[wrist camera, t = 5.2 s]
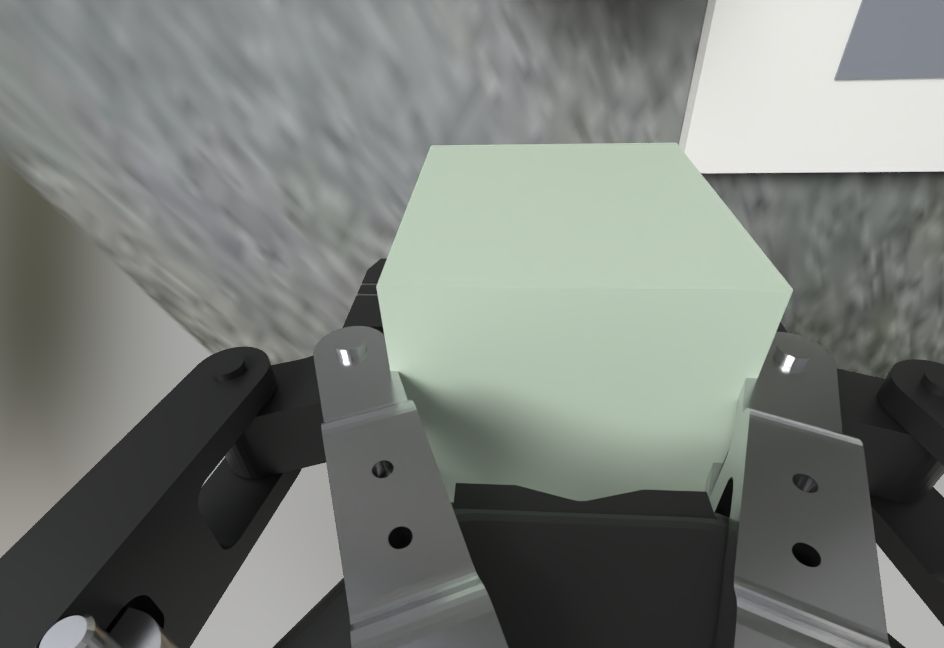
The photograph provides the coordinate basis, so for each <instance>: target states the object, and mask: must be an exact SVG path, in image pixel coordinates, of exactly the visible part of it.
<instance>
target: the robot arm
mask: <svg viewBox="0 0 944 648" xmlns="http://www.w3.org/2000/svg"><path fill="white" fill-rule="evenodd" d="M386 260H387V259H380V260H379V261H378V262H377V263H375V264H374V265H373V266H372V267H371V268H369V269H368V270H367V273H366V275H365V277H364V280H363V282H362V285H361V287H360V289H359V291H358V296H356V298H355V300H354V303H353V305H352V307H351V310H350V312H349V314H348V317H347V319H346V321H345V324H344V326H343V328H341V329H338V330H336V331H333V332H331V333H329V334H328V335H326V336H325V337H323V338H322V339H321V340H320V341H319V342H318V343H317V345H316V347H315V349H314V352H313V353H314V356H311V357H308V358H304V359H300V360H296V361H291V362H286V363H281V364H276V365H271V364H270V361H269V358H268V356H267V355H266V353H265V352H263V351H262V350H259V349H257V348H253V347H236V348H230V349H226V350H223V351H220V352H218V353H215V354H213V355H211V356H209V357H208V358H206V359H205V360H203V361H202V362H201V363H199V364H198V365H197V366H196V367H195V368H194V369H193V370H192V371H191V372H190V373H189V374H188V375H187V376H186V377H185V378H184V379H183V380H182V381H181V382H180V383H179V384H178V385H177V386H176V387H175V388H174V389H173V390H172V391H171V392H170V393H169V394H168V395H167V396H166V397H165V398H164V399H162V400H161V402H160V403H158V404H157V405H156V406H155V407H154V408H153V409H152V410H151V411H150V412H149V413H148V414H147V415H146V416H145V417H144V418H143V419H142V420H141V421H140V422H139V423H138V424H137V425H136V426H135V427H134V428H133V429H132V430H131V431H130V432H129V433H128V434H127V435H126V436H125V437H124V438H123V439H122V440H121V441H120V442H119V443H118V444H117V445H116V446H115V447H113V448H112V449H111V450H110V452H108V453H107V454H106V455H105V456H104V457H103V458H102V459H101V460H100V461H99V462H98V463H97V464H96V465H95V466H94V467H93V468H92V469H91V470H90V471H89V472H88V473H87V474H86V475H85V476H84V477H83V478H82V479H81V480H80V481H79V482H78V483H77V484H76V485H75V486H74V487H73V488H72V489H71V490H70V491H69V492H68V493H67V494H66V495H65V496H63V498H61V499H60V500H59V501H58V502H57V504H55V505H54V506H53V507H52V508H51V509H50V510H49V511H48V512H47V513H46V514H45V515H44V516H43V517H42V518H41V519H40V520H39V521H38V522H37V523H36V524H35V525H34V526H33V527H32V528H31V529H30V530H29V531H28V532H27V533H26V534H25V535H24V536H23V537H22V538H21V539H20V540H19V541H18V542H17V543H16V544H15V545H13V547H11V549H10V550H9V551H7V552H6V553H5V555H3V556H2V557H1V558H0V648H190V646H191V645H192V643H193V641H194V640H195V638H196V637H197V635H198V634H199V632H200V630H201V629H202V627H203V626H204V624H205V622H206V621H207V619H208V618H209V616H210V615H211V613H212V611H213V610H214V608H215V607H216V605H217V603H218V602H219V600H220V598H221V597H222V595H223V594H224V592H225V591H226V589H227V587H228V586H229V584H230V583H231V581H232V580H233V578H234V576H235V575H236V573H237V572H238V570H239V568H240V567H241V565H242V564H243V562H244V560H245V559H246V557H247V556H248V554H249V553H250V551H251V549H252V548H253V546H254V545H255V543H256V541H257V540H258V538H259V536H260V535H261V533H262V532H263V530H264V529H265V527H266V526H267V524H268V522H269V521H270V519H271V518H272V516H273V514H274V513H275V511H276V510H277V508H278V506H279V505H280V503H281V501H282V500H283V498H284V497H285V495H286V494H287V492H288V491H289V489H290V487H291V486H292V484H293V483H294V481H295V479H296V478H297V476H298V475H299V473H300V471H301V469H302V468H304V467H309V466H312V465H317V464H320V463H325V462H326V463H327V469H328V475H329V483H330V489H331V495H332V503H333V509H334V516H335V522H336V529H337V536H338V542H339V549H340V555H341V561H342V569H343V575H344V578H343V579H342V580H341V581H340V582H339V583H338V584H337V585H336V586H335V587H334V588H333V589H332V590H331V591H330V592H329V593H328V594H327V595H326V596H325V597H323V598H322V599H321V601H320V602H319V603H318V604H316V605H315V606H314V607H313V608H312V609H311V610H310V611H309V612H308V613H307V614H306V615H305V616H304V617H303V618H302V619H301V620H300V621H299V622H298V623H297V624H296V625H295V626H294V627H293V628H292V629H291V630H290V631H289V632H288V633H287V634H286V635H285V636H284V637H283V638H282V639H281V640H280V641H279V642H278V643H277V644H276V645H275V646H274V647H273V648H905V647H904V646H903V645H902V644H900V643H899V642H898V641H897V640H896V639H894V638H893V637H892V636H891V635H890V634H888V633H887V628H886V619H885V612H884V604H883V596H882V588H881V580H880V572H879V564H878V557H877V549H876V543H877V544H878V546H879V547H880V548H881V549H882V551H883V552H884V553H885V554H886V555H887V557H888V558H889V559H890V560H891V561H892V563H893V564H894V565H895V567H896V568H897V569H898V570H899V572H900V573H901V574H902V575H903V577H904V578H905V579H906V580H907V581H908V583H909V584H910V585H911V586H912V588H913V589H914V590H915V591H916V593H917V594H918V595H919V596H920V598H921V599H922V600H923V601H924V603H926V605H927V606H928V607H929V609H930V610H931V611H932V612H933V614H934V615H935V616H936V617H937V619H938V620H939V621H940V622H941V624H942V625H943V626H944V497H943V496H942V495H941V494H940V493H939V492H938V491H937V490H936V489H935V488H934V487H933V486H934V485H935V483H936V482H937V481H938V480H939V478H940V477H941V476H942V475H943V474H944V365H943V364H940V363H936V362H932V361H926V360H905V361H901V362H898V363H897V364H895V365H894V366H893V367H892V369H891V371H890V372H889V374H888V376H887V377H886V379H883V378H878V377H873V376H869V375H864V374H859V373H855V372H850V371H846V370H842V369H838V368H837V366H836V362H835V360H834V358H833V357H832V355H831V354H830V353H829V352H828V351H827V350H826V349H825V348H823V347H822V346H820V345H819V344H817V343H815V342H814V341H812V340H809V339H807V338H805V337H802V336H799V335H795V334H791V333H787V331H786V330H785V328H784V327H783V325H782V324H781V322H780V324H779V326H778V329H777V331H776V334H775V336H774V339H773V341H772V344H771V346H770V349H769V351H768V354H767V356H766V358H765V361H764V363H763V366H762V368H761V371H760V373H759V376H758V378H746V379H745V381H744V384H743V386H742V389H741V392H740V394H739V397H738V399H737V407H736V415H735V423H734V430H733V436H732V440H731V444H730V448H729V450H728V453H727V455H726V458H725V460H724V463H713V464H712V467H711V469H710V472H709V474H708V477H707V481H706V487H705V492H702V491H673V490H644V489H643V490H638V491H633V492H628V493H623V494H618V495H613V496H608V497H603V498H598V499H593V500H588V501H576V500H571V499H567V498H564V497H560V496H556V495H552V494H548V493H544V492H541V491H537V490H533V489H529V488H525V487H521V486H518V485H500V484H471V483H456V485H455V495H454V502H450V499H449V496H448V494H447V491H446V488H445V485H444V483H443V480H442V477H441V474H440V472H439V469H438V466H437V463H436V461H435V458H434V455H433V452H432V450H431V447H430V444H429V441H428V439H427V436H426V433H425V430H424V428H423V425H422V422H421V419H420V417H419V414H418V411H417V409H416V406H415V404H414V402H413V400H408V399H407V396H406V393H405V390H404V388H403V385H402V382H401V379H400V376H399V373H398V371H390V366H389V360H388V354H387V348H386V342H385V336H384V330H383V324H382V318H381V312H380V306H379V300H378V294H377V288H376V286H377V283H378V281H379V278H380V276H381V273H382V270H383V268H384V265H385V263H386ZM224 456H225V459H224V460H223V461H222V462H221V464H220V465H219V466H218V467H217V469H216V470H215V471H214V472H213V474H212V475H211V476H210V478H209V479H208V480H207V482H206V483H205V484H204V485H203V483H204V482H205V480H206V479H207V477H208V476H209V475H210V474H211V472H212V471H213V470H214V469H215V467H216V466H217V465H218V463H219V462H220V461H221V460H222V458H223V457H224ZM202 485H203V486H202ZM201 487H202V488H201Z"/></svg>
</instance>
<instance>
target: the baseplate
mask: <svg viewBox="0 0 944 648" xmlns="http://www.w3.org/2000/svg"><path fill="white" fill-rule="evenodd" d="M679 147H680V148H681V149H682V150H683V152H684V153H685V154H686V155H687V157H688V158H689V159H690V160H691V162H692V163H693V164H694V165H695V167H696V168H697V169H698V171H699V172H700V173H810V172H937V171H944V0H708V4H707V9H706V14H705V19H704V24H703V29H702V34H701V39H700V44H699V48H698V53H697V58H696V63H695V68H694V73H693V78H692V83H691V88H690V93H689V98H688V103H687V108H686V113H685V118H684V123H683V128H682V132H681V137H680V142H679Z"/></svg>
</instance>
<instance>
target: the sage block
mask: <svg viewBox="0 0 944 648" xmlns="http://www.w3.org/2000/svg"><path fill="white" fill-rule="evenodd" d="M376 288H377V294H378V300H379V306H380V312H381V318H382V324H383V330H384V336H385V342H386V348H387V354H388V360H389V366H390V371H398V373H399V376H400V379H401V382H402V385H403V388H404V390H405V393H406V396H407V399H408V400H413V402H414V404H415V406H416V409H417V411H418V414H419V417H420V419H421V422H422V425H423V428H424V430H425V433H426V436H427V439H428V441H429V444H430V447H431V450H432V452H433V455H434V458H435V461H436V463H437V466H438V469H439V472H440V474H441V477H442V480H443V483H444V485H445V488H446V491H447V494H448V496H449V499H450V502H454V495H455V485H456V483H471V484H500V485H518V486H521V487H525V488H529V489H533V490H537V491H541V492H544V493H548V494H552V495H556V496H560V497H564V498H567V499H571V500H576V501H588V500H593V499H598V498H603V497H608V496H613V495H618V494H623V493H628V492H633V491H638V490H643V489H644V490H673V491H702V492H705V487H706V481H707V477H708V474H709V472H710V469H711V467H712V464H713V463H724V460H725V458H726V455H727V453H728V450H729V448H730V444H731V440H732V436H733V430H734V423H735V415H736V407H737V399H738V397H739V394H740V392H741V389H742V386H743V384H744V381H745V379H746V378H758V376H759V373H760V371H761V368H762V366H763V363H764V361H765V358H766V356H767V354H768V351H769V349H770V346H771V344H772V341H773V339H774V336H775V334H776V331H777V329H778V326H779V324H780V321H781V319H782V316H783V314H784V311H785V309H786V306H787V304H788V301H789V299H790V296H791V294H792V292H793V289H792V288H791V286H790V285H789V284H788V283H787V281H786V280H785V279H784V278H783V276H782V275H781V274H780V273H779V271H778V270H777V269H776V268H775V266H774V265H773V264H772V263H771V261H770V260H769V259H768V257H767V256H766V255H765V254H764V252H763V251H762V250H761V249H760V247H759V246H758V245H757V244H756V242H755V241H754V240H753V239H752V237H751V236H750V235H749V234H748V232H747V231H746V230H745V229H744V227H743V226H742V225H741V223H740V222H739V221H738V220H737V218H736V217H735V216H734V215H733V213H732V212H731V211H730V210H729V208H728V207H727V206H726V205H725V203H724V202H723V201H722V200H721V198H720V197H719V196H718V194H717V193H716V192H715V191H714V189H713V188H712V187H711V186H710V184H709V183H708V182H707V181H706V179H705V178H704V177H703V176H702V174H701V173H700V172H699V171H698V169H697V168H696V167H695V165H694V164H693V163H692V162H691V160H690V159H689V158H688V157H687V155H686V154H685V153H684V152H683V150H682V149H681V148H680V147H679V145H678V144H677V143H612V144H522V145H431V147H430V150H429V152H428V155H427V157H426V160H425V163H424V165H423V168H422V170H421V173H420V175H419V178H418V181H417V183H416V186H415V188H414V191H413V193H412V196H411V199H410V201H409V204H408V206H407V209H406V211H405V214H404V216H403V219H402V222H401V224H400V227H399V229H398V232H397V234H396V237H395V240H394V242H393V245H392V247H391V250H390V252H389V255H388V258H387V260H386V263H385V265H384V268H383V270H382V273H381V276H380V278H379V281H378V283H377V286H376Z"/></svg>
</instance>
